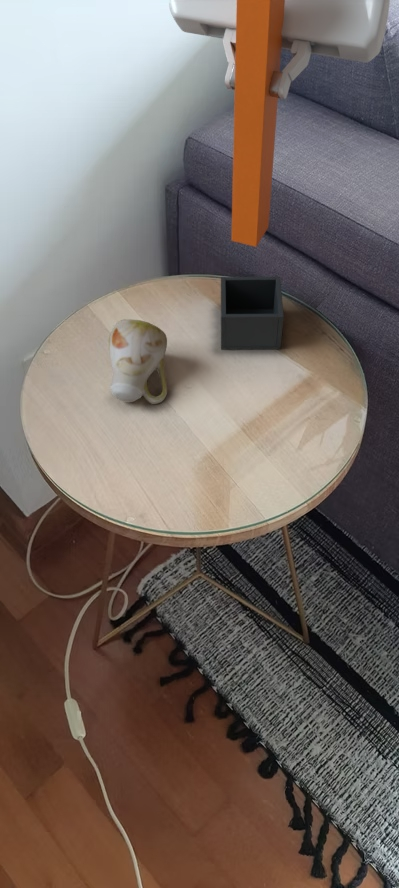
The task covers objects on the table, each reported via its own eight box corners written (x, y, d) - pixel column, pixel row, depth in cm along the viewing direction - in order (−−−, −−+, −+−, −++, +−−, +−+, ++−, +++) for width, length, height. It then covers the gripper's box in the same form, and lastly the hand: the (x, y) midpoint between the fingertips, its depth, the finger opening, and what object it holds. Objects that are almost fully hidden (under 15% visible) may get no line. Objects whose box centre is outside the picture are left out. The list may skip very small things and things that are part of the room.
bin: (277, 309, 94) (280, 276, 89) (280, 349, 89) (283, 316, 85) (220, 309, 94) (220, 276, 90) (220, 349, 89) (221, 317, 85)
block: (268, 226, 79) (289, -66, 56) (256, 247, 76) (273, -49, 54) (244, 221, 79) (255, -70, 57) (231, 240, 77) (237, -54, 55)
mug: (97, 411, 84) (82, 331, 80) (132, 385, 92) (120, 311, 88) (153, 412, 81) (140, 329, 77) (183, 385, 89) (173, 309, 85)
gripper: (182, -102, 62) (143, 59, 64) (408, -76, 57) (357, 97, 59) (202, -60, 68) (166, 86, 70) (408, -33, 63) (361, 123, 65)
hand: (255, 91), depth 65 cm, fingers closed on block, 3 cm apart
